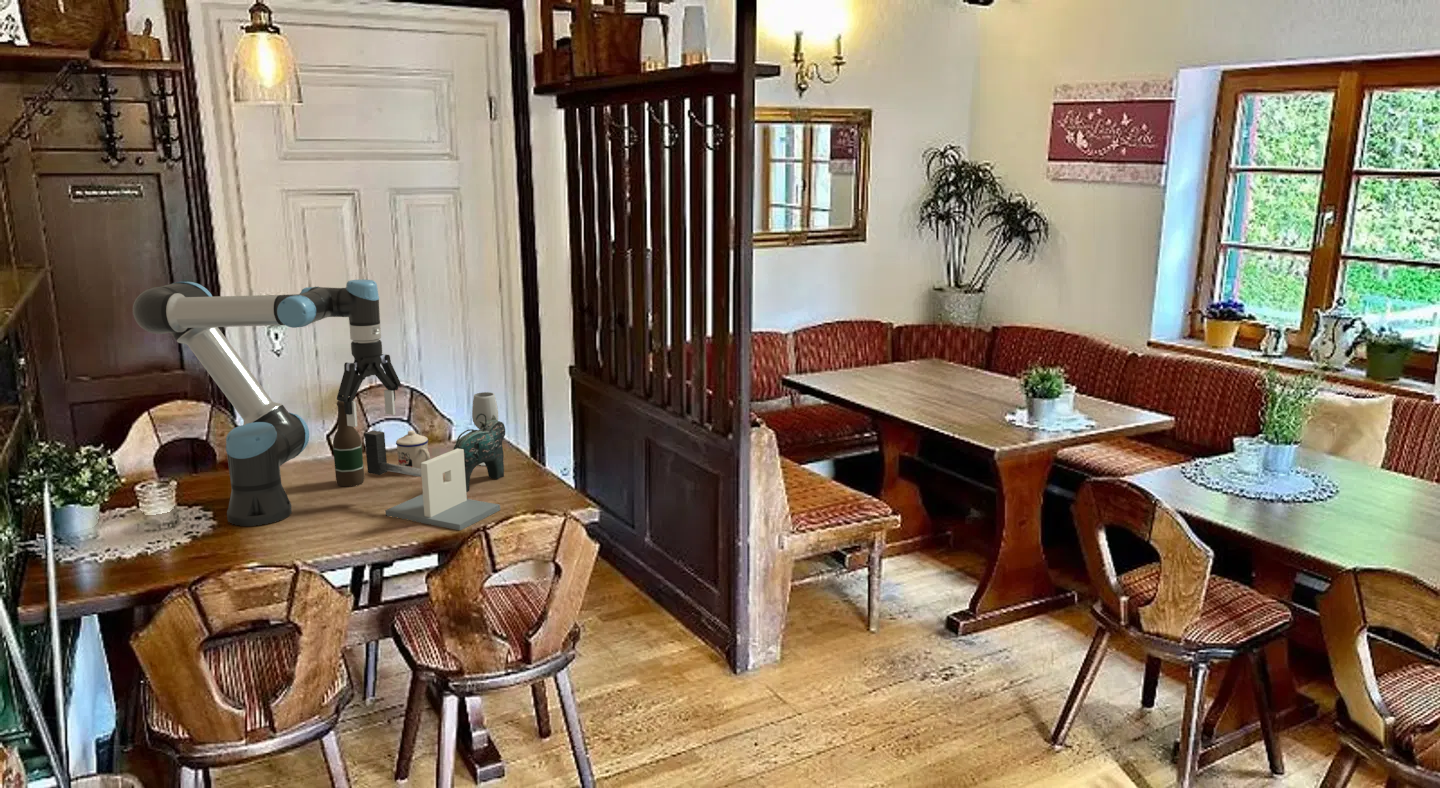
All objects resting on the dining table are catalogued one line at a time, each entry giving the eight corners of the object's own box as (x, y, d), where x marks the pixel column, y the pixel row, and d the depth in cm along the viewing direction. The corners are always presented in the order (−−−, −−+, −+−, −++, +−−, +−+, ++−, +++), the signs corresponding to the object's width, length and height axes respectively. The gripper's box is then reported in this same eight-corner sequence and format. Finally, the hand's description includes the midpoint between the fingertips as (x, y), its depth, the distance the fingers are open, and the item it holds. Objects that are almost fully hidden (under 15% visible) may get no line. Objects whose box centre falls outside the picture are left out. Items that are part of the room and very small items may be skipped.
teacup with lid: (391, 470, 297) (388, 432, 294) (417, 462, 304) (414, 425, 301) (416, 478, 289) (413, 439, 287) (442, 470, 296) (440, 432, 294)
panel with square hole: (460, 530, 250) (456, 470, 246) (385, 515, 260) (380, 458, 256) (500, 510, 264) (497, 453, 260) (428, 497, 274) (424, 442, 270)
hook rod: (433, 484, 259) (430, 443, 256) (367, 473, 268) (364, 433, 266) (441, 481, 262) (438, 440, 259) (376, 469, 271) (372, 430, 268)
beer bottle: (356, 488, 281) (349, 404, 275) (330, 486, 282) (322, 403, 277) (370, 479, 288) (363, 397, 283) (345, 477, 290) (337, 396, 284)
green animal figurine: (496, 472, 294) (492, 406, 290) (513, 476, 291) (509, 408, 287) (447, 492, 277) (443, 422, 273) (465, 496, 274) (461, 425, 270)
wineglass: (493, 457, 309) (489, 390, 304) (505, 462, 303) (501, 394, 298) (470, 461, 304) (466, 394, 299) (482, 467, 299) (478, 398, 294)
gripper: (340, 349, 248) (346, 433, 253) (411, 333, 270) (415, 410, 275) (317, 347, 251) (324, 429, 256) (389, 331, 273) (394, 407, 278)
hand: (371, 419), depth 265 cm, fingers open, 13 cm apart
